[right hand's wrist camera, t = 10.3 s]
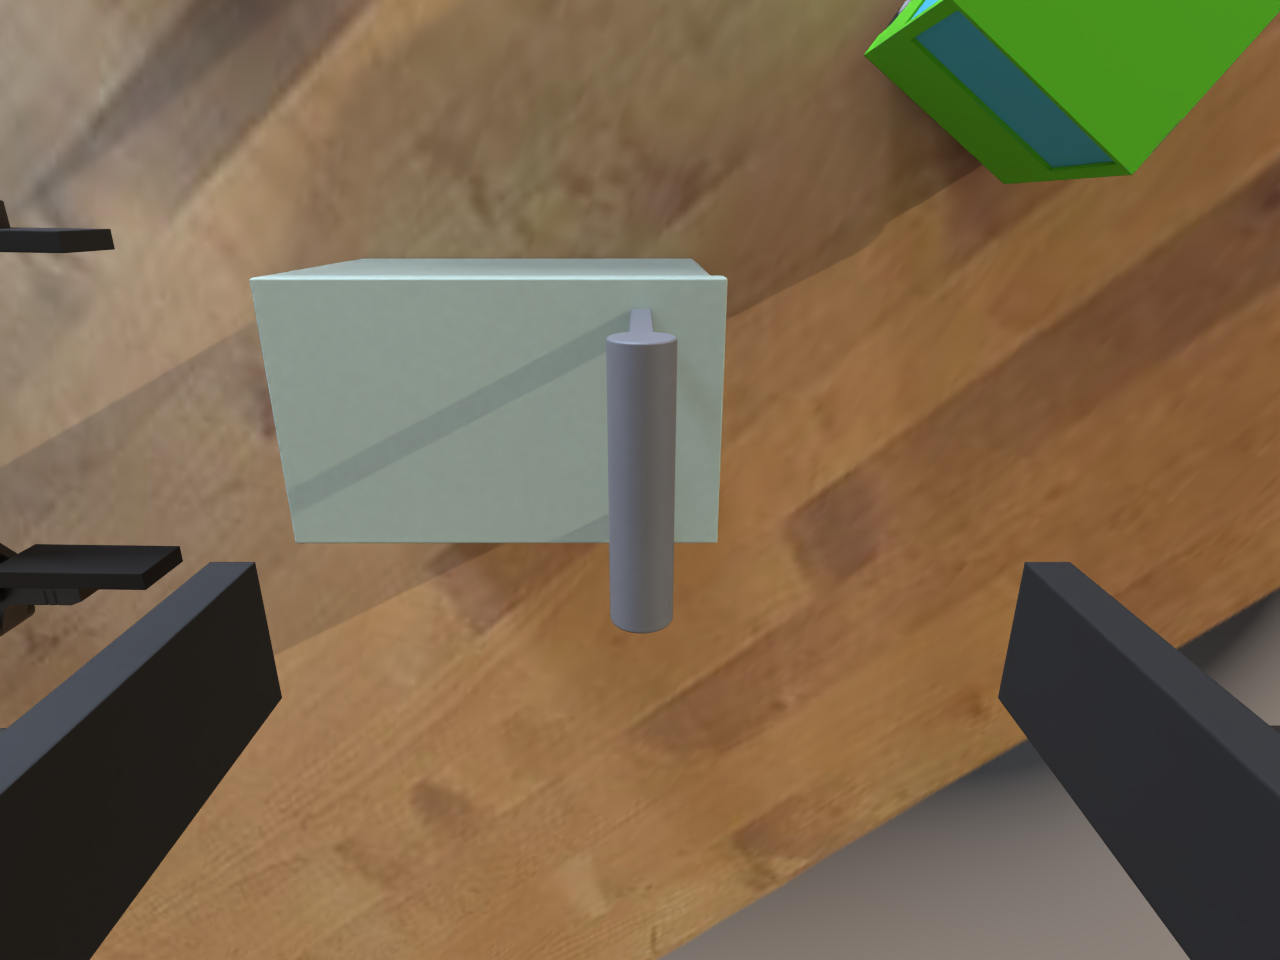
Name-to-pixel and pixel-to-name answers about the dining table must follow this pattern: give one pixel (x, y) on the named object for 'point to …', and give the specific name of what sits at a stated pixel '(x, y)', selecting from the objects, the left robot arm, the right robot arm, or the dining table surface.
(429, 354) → the lid
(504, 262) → the chest
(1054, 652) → the right robot arm
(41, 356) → the dining table surface
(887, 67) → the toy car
